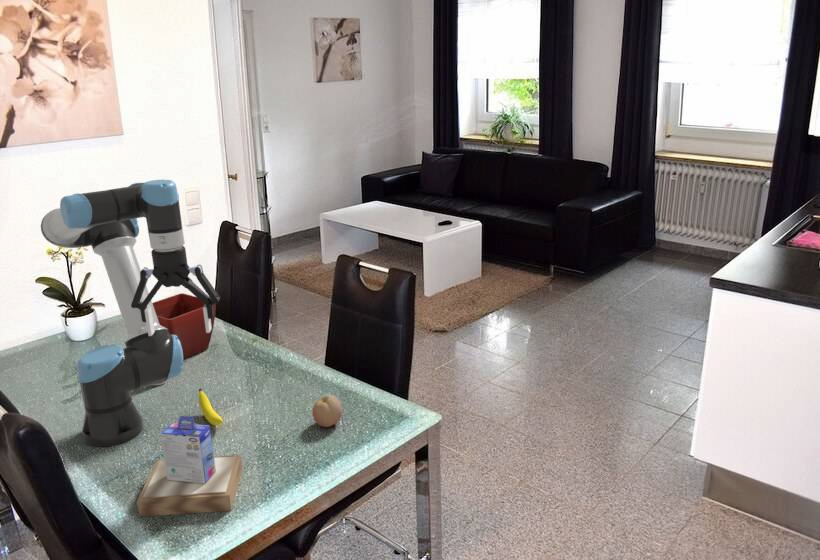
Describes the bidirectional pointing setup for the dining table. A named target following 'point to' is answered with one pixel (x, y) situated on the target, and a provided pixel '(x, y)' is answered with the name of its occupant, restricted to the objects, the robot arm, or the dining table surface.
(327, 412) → the fruit
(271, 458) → the dining table surface
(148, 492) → the wooden box
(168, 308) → the plant pot
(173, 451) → the ink cartridge box
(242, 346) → the dining table surface
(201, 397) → the banana
